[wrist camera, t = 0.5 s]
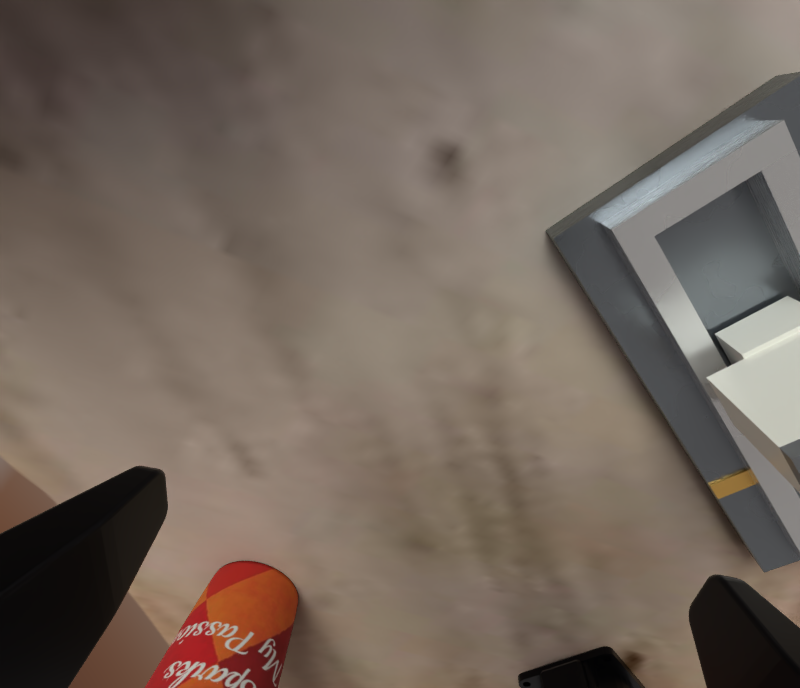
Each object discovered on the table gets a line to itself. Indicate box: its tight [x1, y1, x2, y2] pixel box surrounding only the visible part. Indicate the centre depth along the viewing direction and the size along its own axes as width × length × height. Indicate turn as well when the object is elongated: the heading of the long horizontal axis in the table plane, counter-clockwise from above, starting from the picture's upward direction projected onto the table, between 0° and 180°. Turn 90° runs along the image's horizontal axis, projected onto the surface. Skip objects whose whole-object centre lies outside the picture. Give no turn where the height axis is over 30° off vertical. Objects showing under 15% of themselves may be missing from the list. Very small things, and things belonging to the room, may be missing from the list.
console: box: [546, 72, 800, 572], centre depth 18 cm, size 20×9×3 cm, turn 37°
